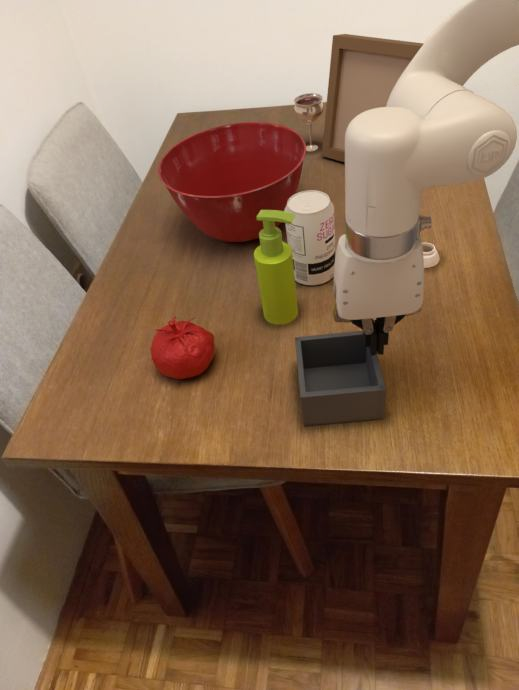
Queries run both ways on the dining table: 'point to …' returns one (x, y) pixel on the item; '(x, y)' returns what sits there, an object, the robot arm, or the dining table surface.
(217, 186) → the mixing bowl
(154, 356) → the red tomato
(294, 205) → the supplement can
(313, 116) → the wineglass
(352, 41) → the photo frame
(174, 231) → the dining table surface
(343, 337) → the grey open box
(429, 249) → the white jar
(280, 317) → the soap dispenser
